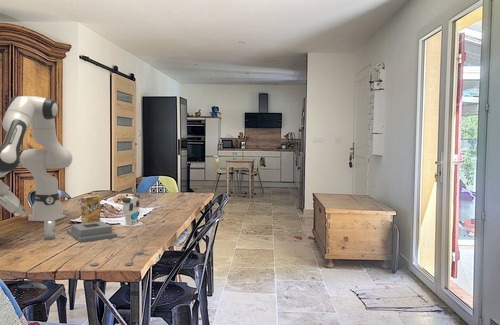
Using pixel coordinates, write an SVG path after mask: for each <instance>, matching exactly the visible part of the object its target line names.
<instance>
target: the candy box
mask: <svg viewBox="0 0 500 325" xmlns="http://www.w3.org/2000/svg"><path fill="white" fill-rule="evenodd" d="M80 212H81V213H80V217H81V218H80V220H81V223H80V224H82V223H90V222H98V221H101V196H100V195H89V196H83V197H82V196H81V197H80Z"/></svg>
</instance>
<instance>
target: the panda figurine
mask: <svg viewBox="0 0 500 325" xmlns="http://www.w3.org/2000/svg"><path fill="white" fill-rule="evenodd" d="M140 198H141V197H140V194H139V195H137V194H132V195H131V196H127V197H122V202H123V203H122V211H123V214H124V219H125V221H124V222H122V223H120V226H121V227H127V228H128V227H129V228H130V227H133V228H134V227H139V226H142V225H143V222H141V221H139V216H140V211H139V209H140Z"/></svg>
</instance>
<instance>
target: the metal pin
mask: <svg viewBox="0 0 500 325" xmlns="http://www.w3.org/2000/svg"><path fill="white" fill-rule="evenodd" d="M43 223H44V224H43V225H44V226H43V233H44V234H43V235H44V238H43V240H45V241H51V240H56V220H47V221H43Z"/></svg>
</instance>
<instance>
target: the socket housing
mask: <svg viewBox="0 0 500 325" xmlns="http://www.w3.org/2000/svg"><path fill="white" fill-rule="evenodd" d="M112 228H113V226H112V225H110V224H108V223H106V222H104V221H101V220H100V221H98V222H90V223H82V224H81V223H75V224H71V228H69V229H66V233H67V235H69V236H71V237H72V238H74V239H75V240H77V241H78V242H79V243H81V244H82V243H87V242H94V241H102V240H108V239H115V238H118V233H116V232H114V231H113V229H112Z"/></svg>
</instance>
